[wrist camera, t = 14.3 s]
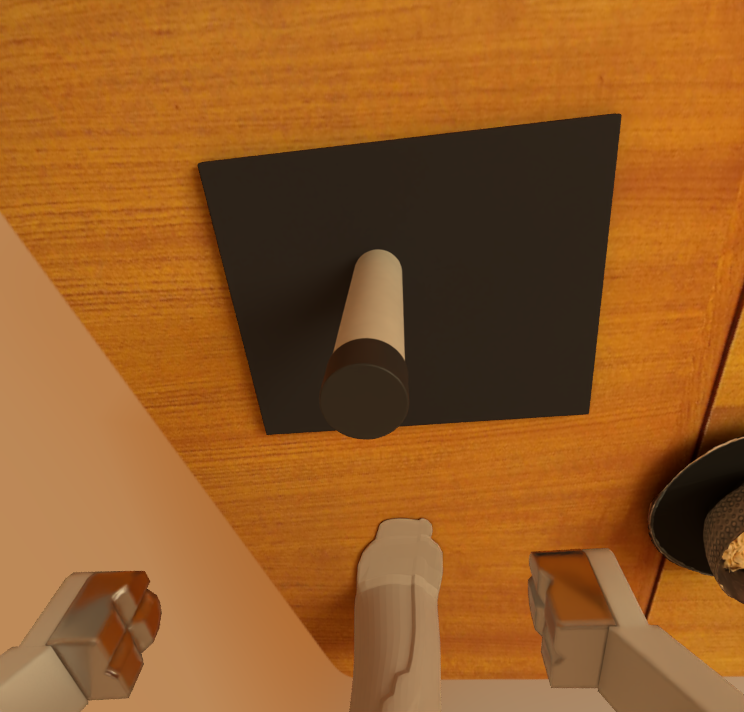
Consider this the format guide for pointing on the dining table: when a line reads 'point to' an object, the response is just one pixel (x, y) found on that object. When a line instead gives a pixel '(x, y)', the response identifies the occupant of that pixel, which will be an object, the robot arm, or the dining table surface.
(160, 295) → the dining table surface
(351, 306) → the marker
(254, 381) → the mat
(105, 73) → the dining table surface
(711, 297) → the dining table surface
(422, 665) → the candle
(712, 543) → the soup bowl
